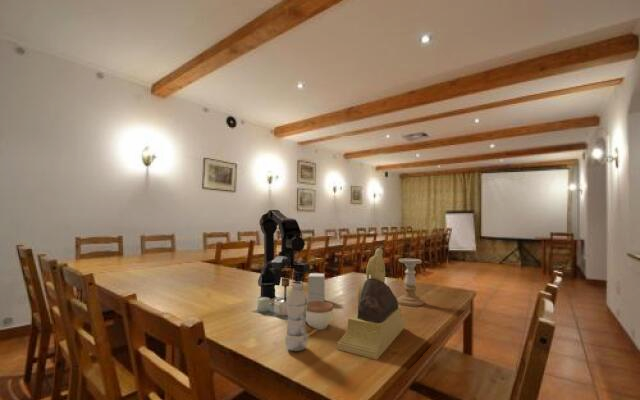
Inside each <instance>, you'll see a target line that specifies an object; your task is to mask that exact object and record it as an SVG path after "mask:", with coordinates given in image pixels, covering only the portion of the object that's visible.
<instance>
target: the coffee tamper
mask: <svg viewBox="0 0 640 400" xmlns="http://www.w3.org/2000/svg"><path fill="white" fill-rule="evenodd" d="M289 286H290V278H288V277H283V278H282V277H281V287H283V288H284V290H283V297H284V298H283V299H279V300H278V302H287V298H286V297H287V287H289Z"/></svg>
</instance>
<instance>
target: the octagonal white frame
mask: <svg viewBox="0 0 640 400" xmlns="http://www.w3.org/2000/svg"><path fill="white" fill-rule="evenodd" d="M287 297H288V296H286V298H287ZM283 298H284V296H283V297H282V296H281V297H280V296H279V297H277V298H273V299H274V300H273V301H274V302H273V303H274V312H275V314H277V315H283V316H285V315H288V310H287V302H278V300H279V299H283Z"/></svg>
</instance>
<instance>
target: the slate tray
mask: <svg viewBox="0 0 640 400" xmlns="http://www.w3.org/2000/svg"><path fill="white" fill-rule="evenodd" d="M251 313H256V314H259V315H264V316H268V317H273V318H277V319H281V320H285V321H288V315H285V316H283V315H277V314H275V312H274V302H273V303H271V304H270V311H269V312H266V313H259V312H257V309H254V310H252V311H251Z"/></svg>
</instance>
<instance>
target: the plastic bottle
mask: <svg viewBox="0 0 640 400" xmlns="http://www.w3.org/2000/svg"><path fill="white" fill-rule="evenodd" d="M304 284H305V283H304V282H303V281H300V282H299V281H296V282H295V281H292V282H291V287H290V289H291V290H290V291H291V292H290V293H289V294H288V295H287V296H286V297H287V310H288V320H287V327H286V330H287V331H286V335H285V340H284V341H285V347H286V349H287V350H289V351H290V352H301V351H304V350H305V349H306V347H307V345H308V334H307V326H306V325H307V324H306V323H307V322H306V312H307V305H308V295H307V294H306V292H305V291H304V289H305V286H304Z"/></svg>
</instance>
